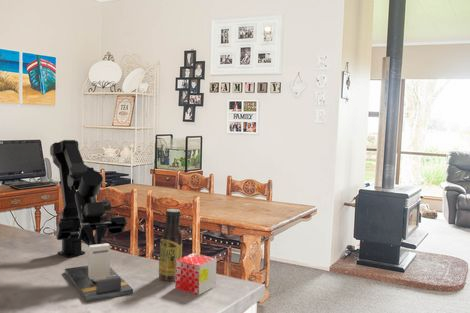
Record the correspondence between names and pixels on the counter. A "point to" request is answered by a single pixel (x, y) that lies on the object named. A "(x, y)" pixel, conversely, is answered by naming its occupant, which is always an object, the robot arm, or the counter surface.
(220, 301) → the counter surface
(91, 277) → the fader tab
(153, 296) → the counter surface
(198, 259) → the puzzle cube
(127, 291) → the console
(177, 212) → the sauce bottle
